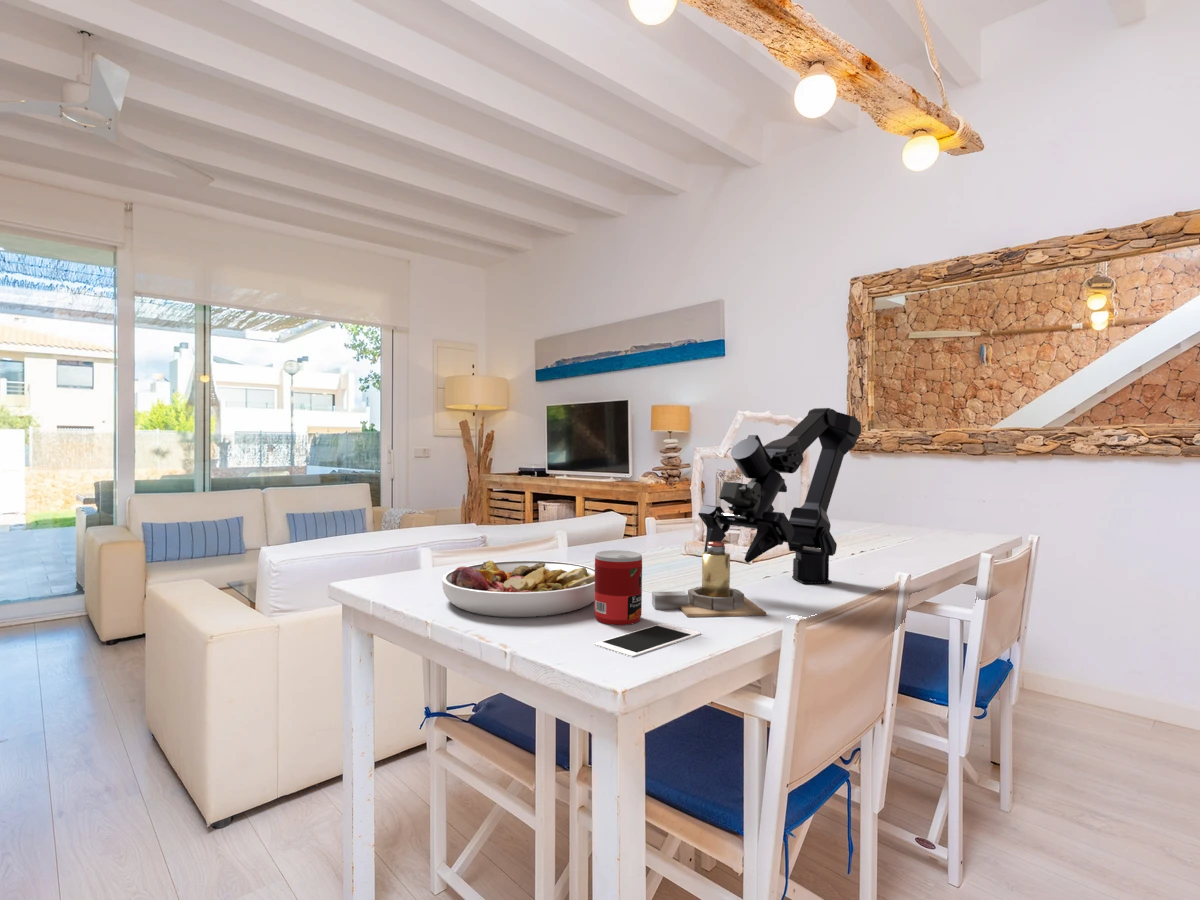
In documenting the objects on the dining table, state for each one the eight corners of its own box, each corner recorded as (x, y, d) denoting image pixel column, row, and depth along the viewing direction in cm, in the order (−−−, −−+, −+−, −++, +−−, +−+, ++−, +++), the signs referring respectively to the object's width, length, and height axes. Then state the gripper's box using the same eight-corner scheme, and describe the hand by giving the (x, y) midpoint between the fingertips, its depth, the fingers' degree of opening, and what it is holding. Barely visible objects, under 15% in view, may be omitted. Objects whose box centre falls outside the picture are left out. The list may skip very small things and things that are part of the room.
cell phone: (702, 636, 101) (702, 632, 101) (632, 660, 90) (632, 655, 90) (663, 626, 106) (663, 622, 106) (593, 647, 95) (593, 643, 95)
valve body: (717, 598, 122) (717, 539, 122) (735, 604, 118) (735, 543, 117) (696, 601, 119) (696, 541, 119) (714, 607, 115) (714, 545, 115)
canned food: (638, 627, 104) (638, 559, 104) (589, 623, 106) (590, 556, 106) (644, 614, 112) (645, 551, 112) (599, 611, 114) (599, 549, 113)
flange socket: (740, 596, 126) (740, 583, 126) (766, 615, 112) (766, 600, 112) (646, 597, 124) (646, 584, 124) (661, 617, 110) (661, 602, 110)
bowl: (536, 577, 143) (536, 542, 143) (636, 602, 122) (637, 560, 122) (411, 599, 122) (412, 558, 122) (506, 634, 101) (507, 583, 101)
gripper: (704, 465, 130) (667, 525, 123) (785, 468, 116) (749, 536, 109) (728, 501, 136) (694, 560, 129) (808, 508, 122) (775, 575, 115)
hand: (725, 557), depth 120 cm, fingers open, 9 cm apart
